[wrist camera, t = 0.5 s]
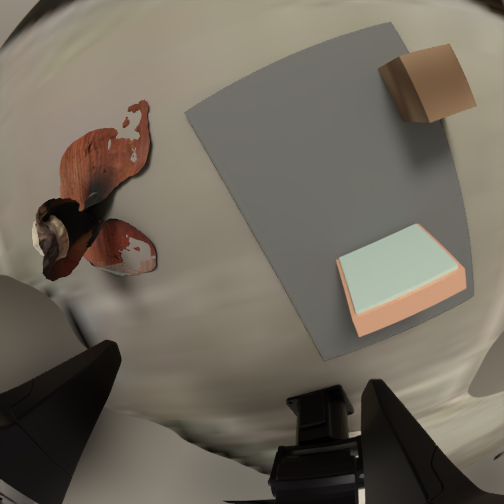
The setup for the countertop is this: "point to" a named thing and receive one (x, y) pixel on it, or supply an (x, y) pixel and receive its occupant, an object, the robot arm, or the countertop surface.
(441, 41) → the countertop surface
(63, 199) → the figurine
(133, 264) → the countertop surface
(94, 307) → the countertop surface
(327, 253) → the mat
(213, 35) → the countertop surface
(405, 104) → the cube
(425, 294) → the tile
